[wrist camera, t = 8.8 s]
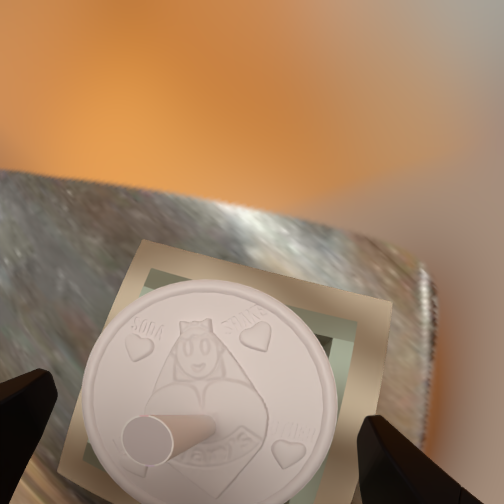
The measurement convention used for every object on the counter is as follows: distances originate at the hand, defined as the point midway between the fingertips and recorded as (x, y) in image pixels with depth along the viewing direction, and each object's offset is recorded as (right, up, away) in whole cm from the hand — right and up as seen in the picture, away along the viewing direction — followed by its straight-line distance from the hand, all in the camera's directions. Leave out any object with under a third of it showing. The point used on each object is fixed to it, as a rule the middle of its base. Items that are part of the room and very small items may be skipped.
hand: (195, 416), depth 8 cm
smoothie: (0, -4, +8) cm, 9 cm away
